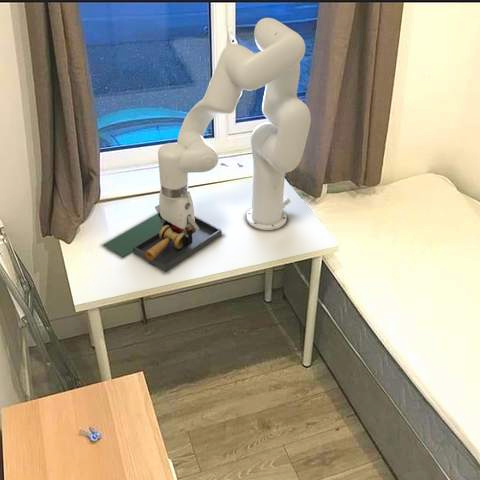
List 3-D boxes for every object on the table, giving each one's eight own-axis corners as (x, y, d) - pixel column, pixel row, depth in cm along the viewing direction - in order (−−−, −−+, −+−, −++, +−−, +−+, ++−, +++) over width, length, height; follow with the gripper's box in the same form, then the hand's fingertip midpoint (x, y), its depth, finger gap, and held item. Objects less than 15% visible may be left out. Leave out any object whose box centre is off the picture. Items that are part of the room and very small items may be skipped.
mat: (161, 212, 189) (161, 211, 188) (180, 222, 185) (180, 222, 185) (103, 245, 174) (103, 244, 174) (123, 257, 171) (122, 256, 170)
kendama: (163, 269, 166) (200, 235, 178) (158, 250, 162) (196, 217, 174) (141, 263, 169) (179, 230, 181) (136, 245, 166) (174, 212, 178)
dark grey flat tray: (190, 218, 187) (189, 213, 185) (221, 235, 181) (221, 229, 180) (133, 252, 172) (132, 247, 171) (165, 272, 167) (165, 266, 165)
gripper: (207, 194, 163) (208, 245, 174) (162, 171, 170) (166, 222, 182) (187, 205, 158) (190, 257, 169) (142, 181, 166) (147, 233, 177)
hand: (177, 239), depth 176 cm, fingers closed on kendama, 7 cm apart
